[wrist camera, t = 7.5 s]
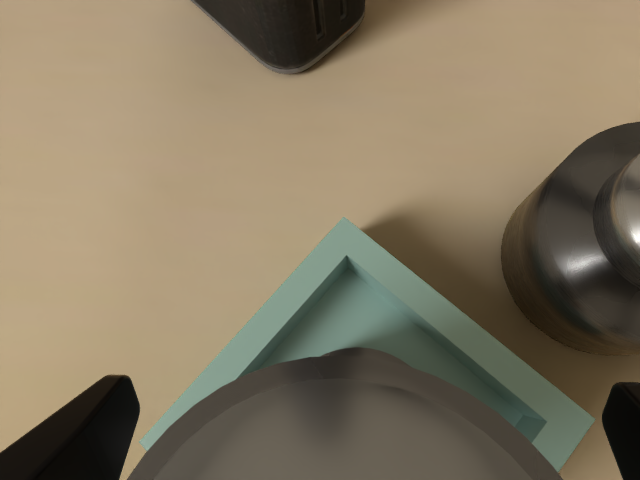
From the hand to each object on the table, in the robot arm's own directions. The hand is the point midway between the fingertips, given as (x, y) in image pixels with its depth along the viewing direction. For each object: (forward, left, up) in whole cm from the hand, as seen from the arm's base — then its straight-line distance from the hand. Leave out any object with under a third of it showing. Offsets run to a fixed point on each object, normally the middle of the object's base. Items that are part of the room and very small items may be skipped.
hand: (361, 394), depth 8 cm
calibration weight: (-4, -9, -9) cm, 13 cm away
